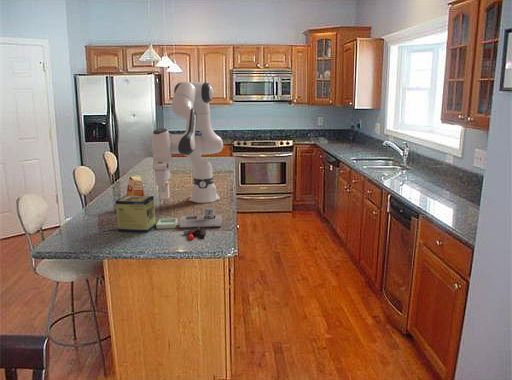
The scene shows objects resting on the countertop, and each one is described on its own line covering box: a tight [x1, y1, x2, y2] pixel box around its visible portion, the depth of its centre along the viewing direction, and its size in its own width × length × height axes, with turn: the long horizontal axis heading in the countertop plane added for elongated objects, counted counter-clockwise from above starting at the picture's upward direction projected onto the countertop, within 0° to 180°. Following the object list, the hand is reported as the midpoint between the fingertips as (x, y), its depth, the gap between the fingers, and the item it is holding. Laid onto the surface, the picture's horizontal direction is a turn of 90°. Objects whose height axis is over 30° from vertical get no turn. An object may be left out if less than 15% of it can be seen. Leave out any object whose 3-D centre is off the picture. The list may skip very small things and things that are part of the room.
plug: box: [158, 180, 171, 200], centre depth 215 cm, size 4×4×8 cm
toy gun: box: [182, 225, 207, 241], centre depth 201 cm, size 10×12×5 cm
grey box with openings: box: [178, 206, 222, 229], centre depth 214 cm, size 14×20×8 cm
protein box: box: [115, 195, 157, 234], centre depth 213 cm, size 10×16×16 cm
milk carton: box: [126, 174, 146, 196], centre depth 251 cm, size 9×9×20 cm
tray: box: [155, 217, 179, 230], centre depth 219 cm, size 10×9×2 cm
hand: (164, 190), depth 216 cm, fingers closed on plug, 4 cm apart
